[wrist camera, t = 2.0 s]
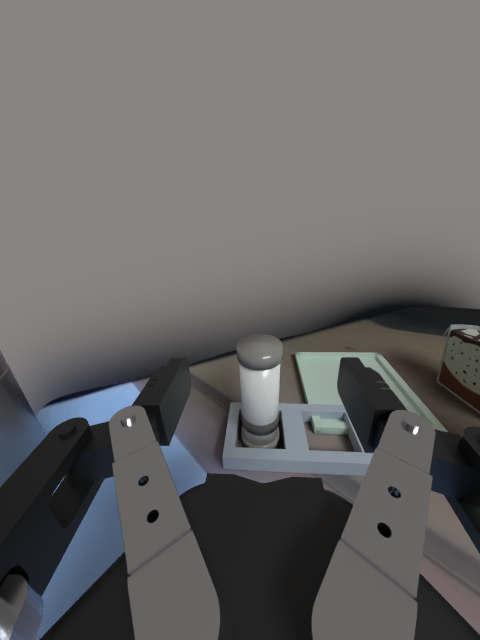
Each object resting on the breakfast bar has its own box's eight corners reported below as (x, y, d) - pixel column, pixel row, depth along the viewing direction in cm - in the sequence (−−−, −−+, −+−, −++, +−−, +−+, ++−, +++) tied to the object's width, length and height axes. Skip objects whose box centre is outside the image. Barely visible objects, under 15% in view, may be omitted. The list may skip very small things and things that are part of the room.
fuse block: (223, 469, 27) (222, 457, 26) (231, 412, 34) (230, 402, 34) (376, 476, 25) (380, 464, 25) (349, 415, 33) (351, 405, 32)
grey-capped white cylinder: (240, 455, 28) (234, 357, 23) (242, 423, 33) (238, 334, 27) (280, 456, 28) (284, 357, 22) (277, 424, 32) (280, 334, 27)
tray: (313, 433, 31) (314, 427, 30) (294, 357, 47) (295, 352, 46) (444, 438, 29) (447, 431, 29) (378, 357, 46) (379, 352, 45)
